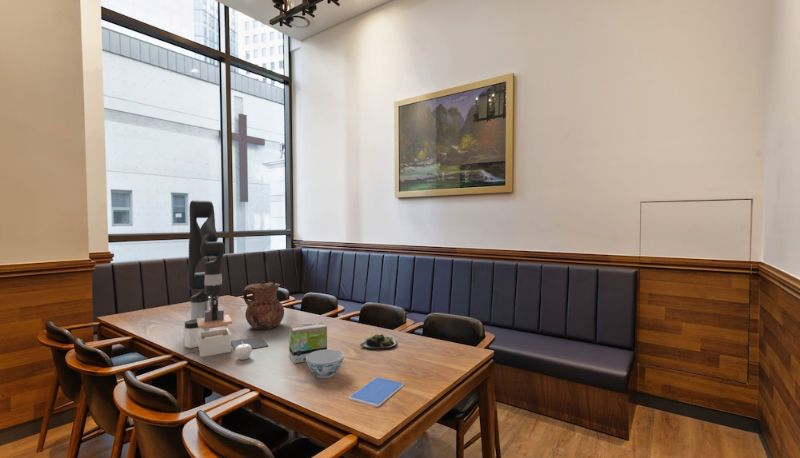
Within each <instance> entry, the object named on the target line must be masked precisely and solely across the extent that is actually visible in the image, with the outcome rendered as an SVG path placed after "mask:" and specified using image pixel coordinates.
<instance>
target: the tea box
mask: <svg viewBox="0 0 800 458" xmlns="http://www.w3.org/2000/svg"><path fill="white" fill-rule="evenodd" d="M288 329H289V331H288V334H289V336H288V341H289V342H288V343H289V346H288V349H289V350H288V352H289V353H288V356H289V358H290V359H291V360H290V361H291V362H292V363H293V364H294V365H295V364H298V363H303V362H306V356H307V355H308V354H310V353H312V352H314V351H318V350H326V349H328V326H326V325H325V323H324V322H323V321H316V322H315V321H314V322H307V323H299V324H298V323H297V324H290V325H289V328H288Z"/></svg>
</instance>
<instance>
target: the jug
mask: <svg viewBox="0 0 800 458" xmlns="http://www.w3.org/2000/svg"><path fill="white" fill-rule="evenodd" d="M280 286H281V284H280V283H277V282H276V283H274V282H266V283H252V284H249V285H246V286H245V288H244V291H243V294H242V296H243V297H242V298H243V300H244V303H245V304H246V305H247V307H246V310H245V313H244V314H245V320H246V322H247V324H248V325H249V326H250V327H251V328H253V329H255V330H269V329H273V328H275V327H277V326H279V325H280V323H282V321H283V319H284V317H285V309H284V306H283V303H282V302H281V301H280V300H279V299H278V298H277V295H278V294H277V293H278V290H279V288H280ZM248 292H251V294H252V299H251V300H249V298H248V294H247V293H248Z"/></svg>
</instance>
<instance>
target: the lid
mask: <svg viewBox="0 0 800 458" xmlns="http://www.w3.org/2000/svg"><path fill="white" fill-rule="evenodd" d="M211 311H212V310H211V309H209V310H207V311H204V318H198V319H197V324H198V328H202V329H209V328H210V329H215V328H221V327H223V328H224V327H228V325H230V324H231V325H232V324H233V320H232V319H231V317H230V314H224V312H225V310H224V309H223V308H218V311H217V320H212V312H211Z"/></svg>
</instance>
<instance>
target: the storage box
mask: <svg viewBox="0 0 800 458" xmlns="http://www.w3.org/2000/svg"><path fill="white" fill-rule="evenodd" d="M198 338H199V347H198V351H199V357H200V358H204V357H209V356H214V355H215V356H216V355H220V354H226V353H231V352H232V344H231V341H232V334H231V331H230V330H229V328H228V327H227V328H220V329H219V328H218V329H214V330H213V329H212V330H209V331H205V332H198Z"/></svg>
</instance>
